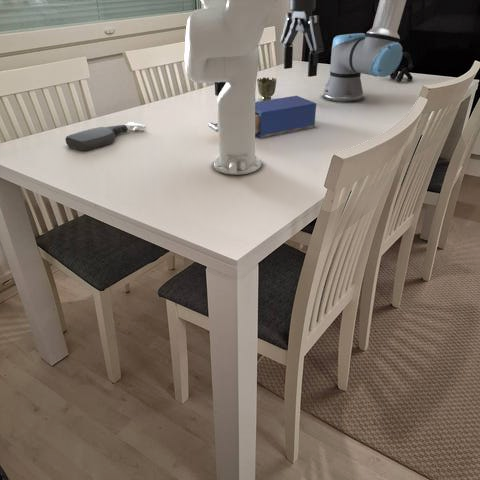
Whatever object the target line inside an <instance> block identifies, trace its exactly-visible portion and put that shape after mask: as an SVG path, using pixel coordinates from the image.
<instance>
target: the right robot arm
mask: <svg viewBox="0 0 480 480" xmlns="http://www.w3.org/2000/svg"><path fill="white" fill-rule="evenodd" d="M316 2H317V0H289V10H290V11H288V12H286V13H285V22H284V25H283V29H282V33H281V36H280V39H279V42H280V45H282V46H283V70H288V69H293V56H294V55H293V54H294V45H293V43H294V41H295V40H296V39H295V38H296V37H297V35H298V33H299V32H301V33H302V34H304V37H305V40H306V43H307V46H308V48H309V53H308V63H307V64H308V66H307V77H308V78H312V77H317V74H318V64H319V54H320V53H322V52H324V51H325V46H324V42H323V37H322V32H321V27H320V16H319V15H317V14H316V15H313V12H314V11H315V10H316V4H317V3H316ZM406 3H407V0H379V2H378V4H377V5H378V6H377V9H376V13H375V17H374V20H373V25H372V28H370V29H369V30H368V31H366V33H363V32H360V33H359V32H357V33H346V34H340V35H336V36H335V37H333V40H332V46H331V54H330V55H331V56H330V70H329V77H328V80H327V83H326V84H325V86H324V87H325V88H324V90H323V95H322V96H323V98H324V99H325V100H328V101H330V102H337V103H353V102H359V101H362V100H363V96H364V91H363V86H362V81H361V74H363V75H368V76H372V77H381V78H385V77H390V74H392V72H394V71H395V70H396V68H397V67H398V65H399V64H400V62H401V61H402V59H403V57H402V54H403V53H404V51H403V46H402V44H401V43H400V40H401V37H400V35H399V34H398V30H399V27H400V24H401V20H402V16H403V13H404V10H405V6H406Z"/></svg>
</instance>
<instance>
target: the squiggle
mask: <svg viewBox="0 0 480 480" xmlns="http://www.w3.org/2000/svg"><path fill="white" fill-rule="evenodd" d="M406 62H407V65H408V66H407V67H405V66H404V65H405V64H406ZM413 68H414V64H413V61H412V57H411V54H410V53H409V52H408V51H403V54H402V59H401V61H400V64H399V65H398V67H397V68H396V70H395V71H394V72H392V74H390V75H389V78H390V79H391V80H395V79H396V81H397V82H399V83H400V82H402V81H403V79H404V76H406V78H407V80H408V81H412V80H413V79H414V77H413V75H412V74H411V73H410V72H409V71H410V70H412V69H413ZM400 70H401V71H400Z"/></svg>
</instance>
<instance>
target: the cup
mask: <svg viewBox="0 0 480 480" xmlns="http://www.w3.org/2000/svg"><path fill="white" fill-rule="evenodd" d="M256 84H257V91H258V95H259V96H260V97H261V101H266V100H272V97H273V96H274V95H275V92H276V89H277V88H276V87H277V78H276V77H275V78H274V77H272V78H271V79H270V77H262V78H261V77H259V78H257V79H256Z"/></svg>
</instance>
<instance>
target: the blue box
mask: <svg viewBox="0 0 480 480" xmlns="http://www.w3.org/2000/svg"><path fill="white" fill-rule="evenodd" d="M316 112H317V103H316V102H314V101H312V100H309V99H306V98H304V97H301V96H299V95H292V96H291V95H290V96H285V97H278V98H273V99H272V98H271V100H266V101H263V100H260V101H255V113H257V114H259V115H260V132H259V133H255V136H257V137H259V138H260V139H263V138H268V137H273V136H279V135H283V134H289V133H293V132H299V131H304V130H308V129H313V128H315V127H316Z"/></svg>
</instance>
